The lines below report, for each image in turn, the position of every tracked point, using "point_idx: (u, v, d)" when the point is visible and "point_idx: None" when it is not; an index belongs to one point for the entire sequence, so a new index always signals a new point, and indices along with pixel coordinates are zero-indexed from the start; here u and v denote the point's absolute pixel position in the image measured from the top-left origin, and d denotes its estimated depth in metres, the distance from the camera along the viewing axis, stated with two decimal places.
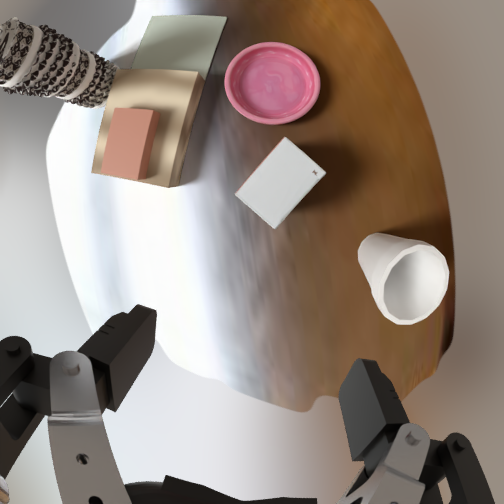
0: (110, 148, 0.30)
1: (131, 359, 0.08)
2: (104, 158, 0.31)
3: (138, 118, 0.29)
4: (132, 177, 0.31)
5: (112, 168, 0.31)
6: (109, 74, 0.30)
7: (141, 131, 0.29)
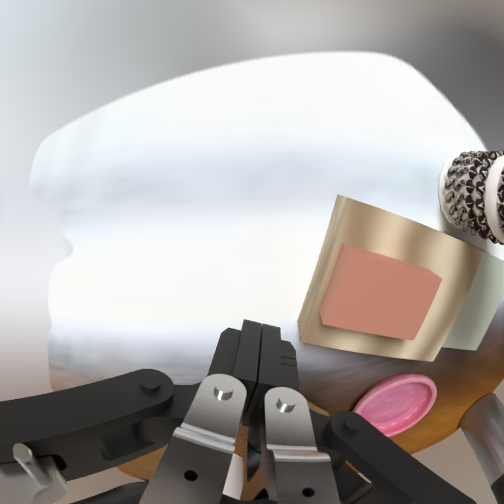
0: (386, 274, 0.19)
1: None
2: (373, 261, 0.18)
3: (411, 321, 0.20)
4: (328, 316, 0.20)
5: (352, 279, 0.19)
6: None
7: (392, 327, 0.20)
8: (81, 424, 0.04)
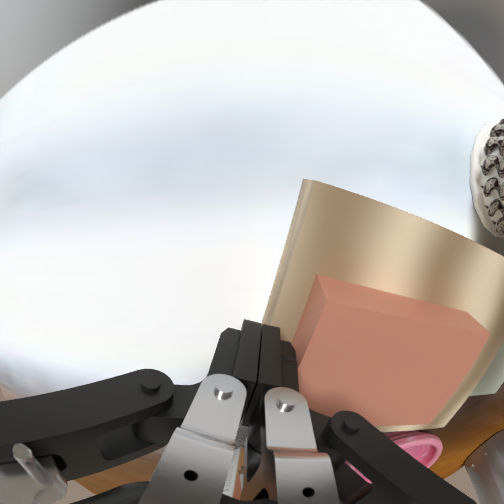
0: (399, 339, 0.09)
1: None
2: (376, 317, 0.09)
3: (430, 402, 0.10)
4: None
5: (329, 351, 0.09)
6: None
7: (399, 414, 0.10)
8: (82, 424, 0.04)
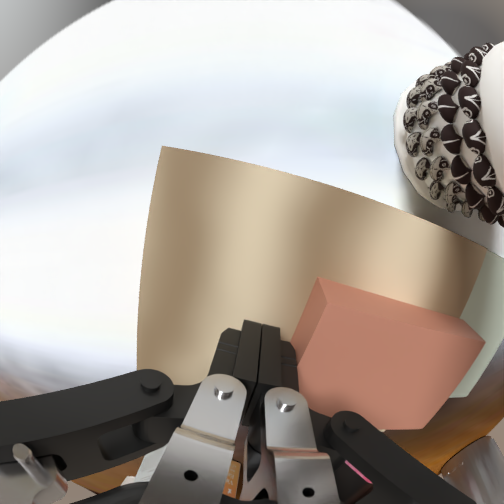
0: (396, 343, 0.09)
1: None
2: (375, 321, 0.09)
3: (424, 408, 0.10)
4: None
5: (327, 353, 0.09)
6: None
7: (393, 418, 0.10)
8: (81, 425, 0.04)
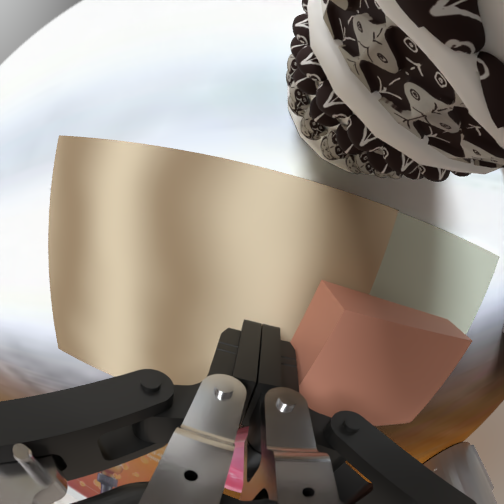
0: (400, 346, 0.09)
1: None
2: (384, 326, 0.09)
3: (415, 403, 0.11)
4: None
5: (337, 359, 0.09)
6: (389, 172, 0.10)
7: (386, 415, 0.11)
8: (82, 425, 0.04)
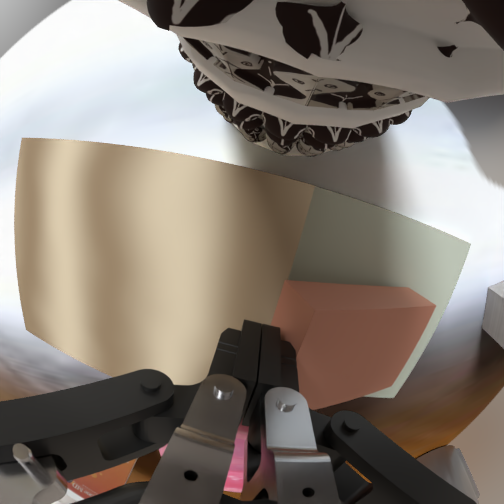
0: (370, 327, 0.11)
1: None
2: (353, 315, 0.10)
3: (392, 369, 0.13)
4: None
5: (315, 352, 0.10)
6: (304, 146, 0.10)
7: (368, 385, 0.13)
8: (82, 425, 0.04)
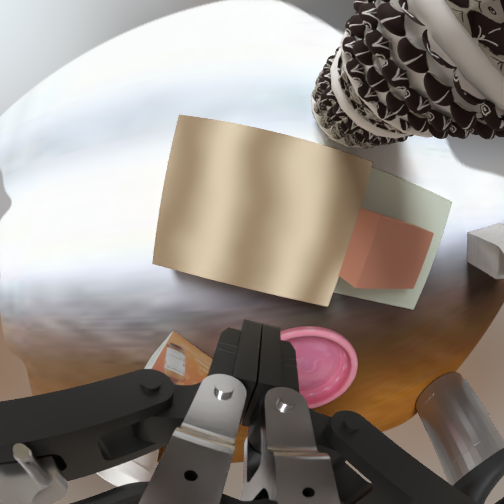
0: (401, 233, 0.20)
1: None
2: (394, 222, 0.20)
3: (413, 272, 0.23)
4: (360, 279, 0.20)
5: (379, 241, 0.20)
6: (367, 143, 0.20)
7: (401, 280, 0.23)
8: (82, 424, 0.04)
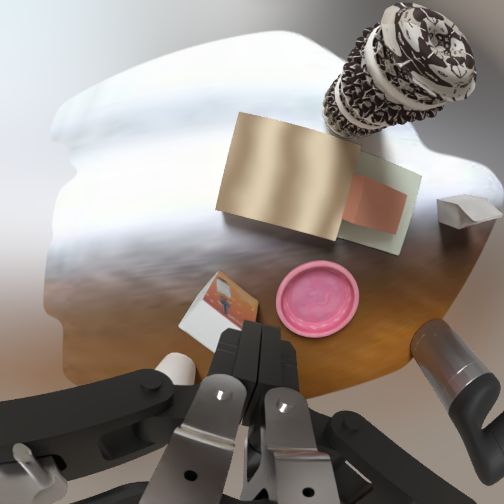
0: (382, 190, 0.32)
1: None
2: (376, 182, 0.31)
3: (394, 221, 0.34)
4: (356, 217, 0.32)
5: (366, 193, 0.31)
6: (357, 134, 0.31)
7: (385, 225, 0.34)
8: (82, 424, 0.04)
